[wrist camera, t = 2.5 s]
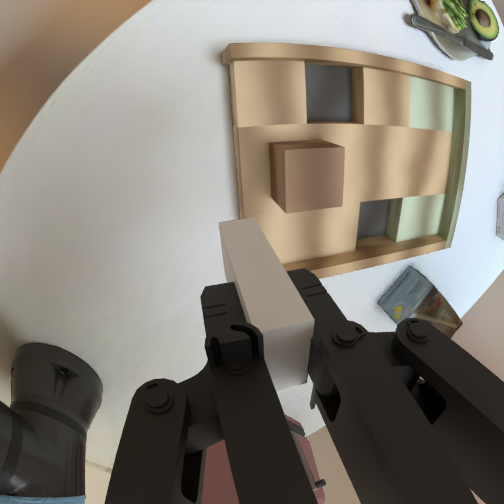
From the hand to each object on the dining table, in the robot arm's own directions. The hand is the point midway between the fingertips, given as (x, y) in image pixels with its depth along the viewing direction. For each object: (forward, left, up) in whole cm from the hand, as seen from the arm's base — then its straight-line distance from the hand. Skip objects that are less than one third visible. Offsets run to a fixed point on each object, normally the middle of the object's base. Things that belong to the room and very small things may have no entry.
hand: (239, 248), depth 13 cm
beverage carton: (+31, -25, -16) cm, 43 cm away
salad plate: (+33, +23, -16) cm, 43 cm away
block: (+8, 0, -13) cm, 15 cm away
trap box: (+17, 0, -15) cm, 23 cm away
